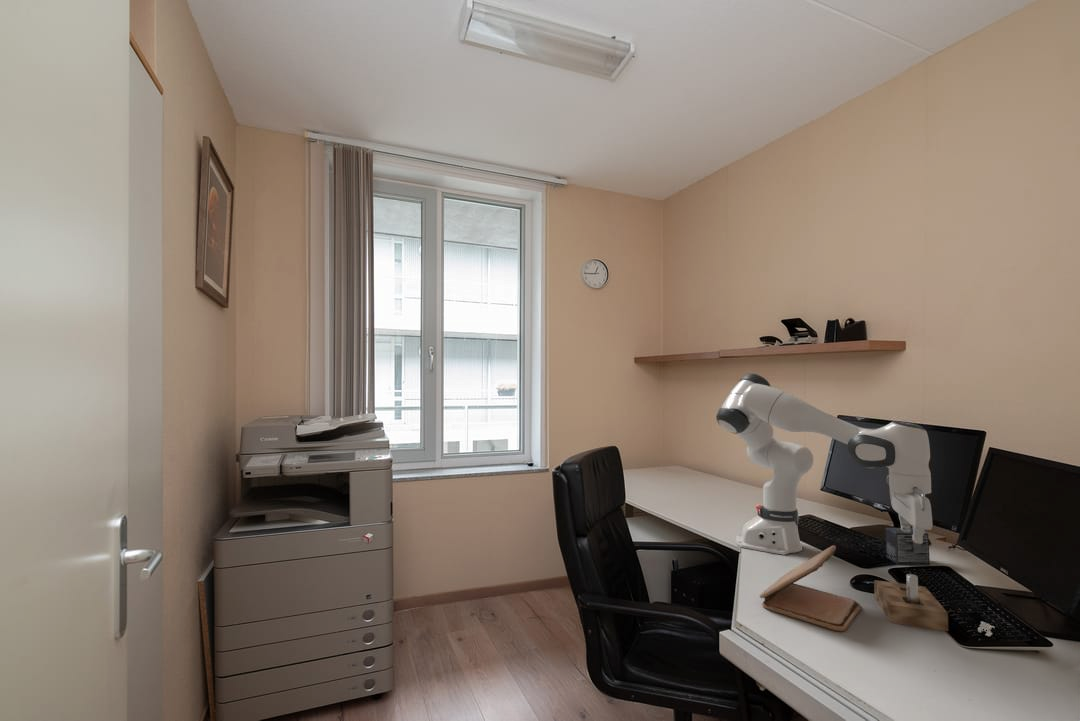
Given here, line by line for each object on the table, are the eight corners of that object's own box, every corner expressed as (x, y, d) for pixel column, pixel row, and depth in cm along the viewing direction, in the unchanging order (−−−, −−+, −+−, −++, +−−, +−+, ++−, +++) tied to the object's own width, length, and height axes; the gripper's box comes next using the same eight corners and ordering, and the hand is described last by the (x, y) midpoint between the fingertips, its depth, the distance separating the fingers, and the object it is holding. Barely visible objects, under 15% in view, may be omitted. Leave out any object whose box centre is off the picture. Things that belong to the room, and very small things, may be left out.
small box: (917, 558, 169) (917, 527, 169) (931, 565, 163) (930, 533, 163) (885, 557, 170) (884, 526, 170) (897, 564, 164) (896, 532, 164)
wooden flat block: (890, 622, 126) (889, 604, 126) (874, 595, 140) (874, 580, 141) (948, 631, 121) (947, 612, 121) (925, 603, 136) (925, 586, 136)
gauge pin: (920, 621, 126) (919, 578, 126) (909, 619, 127) (907, 576, 127) (917, 617, 128) (915, 574, 128) (906, 615, 129) (904, 573, 129)
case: (783, 584, 149) (781, 531, 149) (864, 607, 134) (862, 548, 134) (756, 608, 135) (754, 549, 135) (843, 636, 120) (841, 570, 120)
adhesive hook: (976, 633, 121) (976, 620, 121) (982, 631, 122) (982, 618, 122) (992, 639, 118) (991, 626, 118) (997, 637, 119) (997, 624, 119)
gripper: (939, 493, 118) (941, 551, 117) (911, 477, 137) (913, 526, 136) (907, 491, 120) (909, 548, 120) (884, 475, 139) (886, 524, 139)
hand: (911, 536), depth 128 cm, fingers open, 8 cm apart
